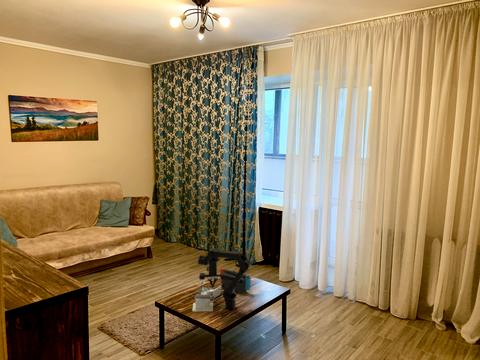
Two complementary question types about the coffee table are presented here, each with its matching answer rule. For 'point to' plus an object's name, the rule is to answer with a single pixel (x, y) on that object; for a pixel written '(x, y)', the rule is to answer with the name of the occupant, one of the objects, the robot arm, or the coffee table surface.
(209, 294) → the strap
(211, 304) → the board
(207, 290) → the toy car
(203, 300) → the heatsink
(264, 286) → the coffee table surface
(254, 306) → the coffee table surface
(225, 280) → the game console
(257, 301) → the coffee table surface
